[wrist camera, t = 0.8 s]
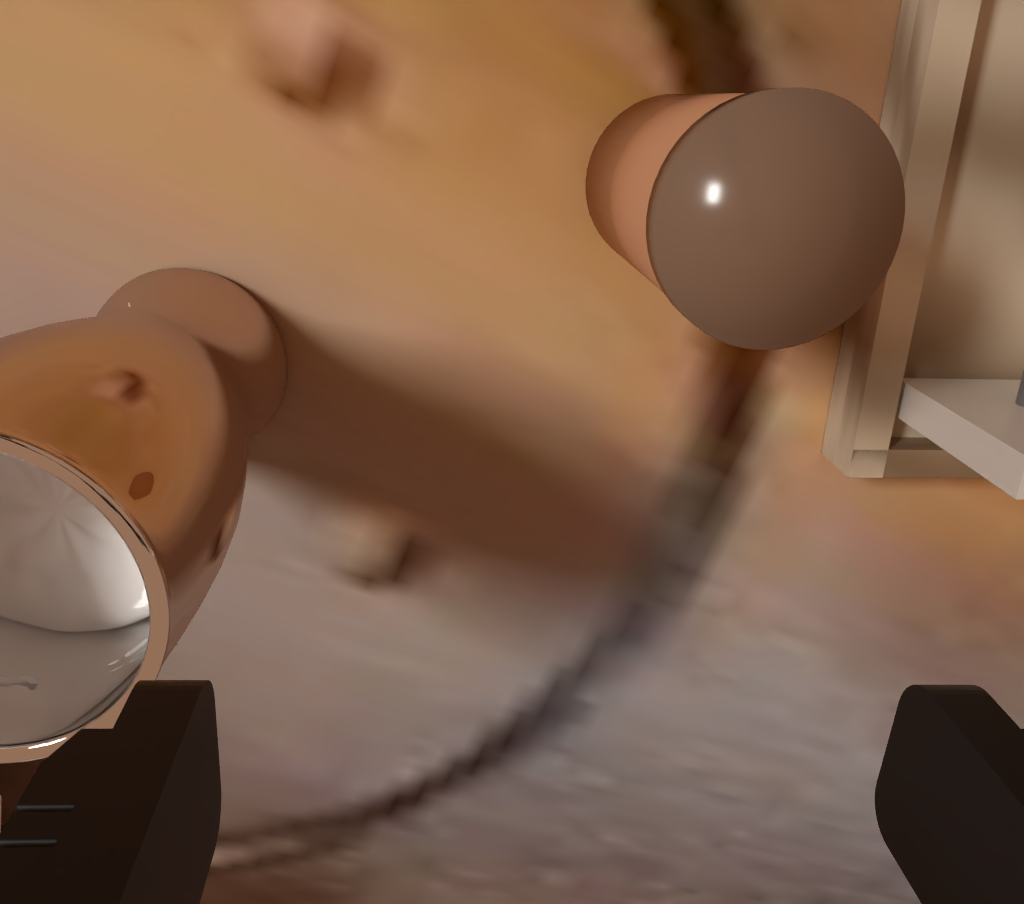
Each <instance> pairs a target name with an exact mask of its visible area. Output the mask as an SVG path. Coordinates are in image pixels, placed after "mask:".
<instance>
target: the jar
mask: <svg viewBox="0 0 1024 904" xmlns="http://www.w3.org/2000/svg"><path fill="white" fill-rule="evenodd" d="M586 199H587V205H588V209H589V213H590V216H591V218H592V221H593V223H594V225H595V227H596V229H597V231H598V232H599V234H600V235H601V237H602V238H603V239H604V241H605V242H606V243H607V244H608V245H609V246H610V247H611V248H612V249H613V250H614V251H616V252H617V253H618V254H619V255H620V256H621V257H623V258H624V259H625V260H626V261H627V262H628V263H630V264H631V265H632V266H633V267H634V268H635V269H637V270H638V271H639V272H640V273H641V274H642V275H644V276H645V277H646V278H647V279H648V280H649V281H651V282H652V283H653V284H654V285H655V286H656V287H658V288H659V289H660V290H661V291H662V292H663V293H664V294H665V295H666V297H667V298H668V299H669V301H670V302H671V303H672V305H673V306H674V307H675V308H676V309H677V310H678V311H679V312H680V313H681V314H682V315H683V316H684V317H685V318H687V319H688V320H689V321H690V322H691V323H692V324H694V325H695V326H696V327H698V328H699V329H700V330H702V331H703V332H704V333H706V334H708V335H710V336H711V337H713V338H715V339H717V340H719V341H722V342H724V343H727V344H730V345H733V346H737V347H742V348H746V349H757V350H772V349H782V348H788V347H793V346H797V345H800V344H803V343H806V342H809V341H812V340H814V339H816V338H818V337H821V336H823V335H825V334H826V333H828V332H830V331H832V330H833V329H835V328H837V327H838V326H840V325H841V324H842V323H844V322H845V321H846V320H848V319H849V318H850V317H851V316H853V315H854V314H855V313H856V312H857V311H858V310H859V309H860V308H861V307H862V306H863V305H864V304H865V303H866V302H867V300H868V299H869V298H870V297H871V296H872V295H873V293H874V292H875V291H876V289H877V288H878V286H879V285H880V283H881V282H882V280H883V279H884V277H885V275H886V273H887V272H888V270H889V268H890V266H891V264H892V262H893V259H894V257H895V254H896V251H897V249H898V246H899V242H900V239H901V235H902V231H903V225H904V217H905V189H904V180H903V176H902V172H901V168H900V164H899V161H898V159H897V156H896V154H895V151H894V149H893V147H892V145H891V143H890V142H889V140H888V138H887V137H886V135H885V133H884V132H883V131H882V130H881V128H880V127H879V126H878V125H877V123H876V122H875V121H874V120H873V119H872V118H871V117H870V116H869V115H867V114H866V113H865V112H864V111H863V110H862V109H860V108H859V107H857V106H856V105H854V104H853V103H851V102H850V101H848V100H846V99H843V98H841V97H839V96H837V95H835V94H832V93H828V92H824V91H821V90H817V89H809V88H768V89H763V90H757V91H752V92H749V93H733V94H665V95H659V96H654V97H651V98H647V99H644V100H642V101H640V102H638V103H636V104H634V105H632V106H630V107H629V108H627V109H626V110H624V111H623V112H622V113H621V114H619V115H618V116H617V117H616V118H615V119H614V120H613V121H612V122H611V123H610V124H609V125H608V126H607V128H606V129H605V130H604V132H603V133H602V135H601V136H600V138H599V139H598V141H597V143H596V145H595V147H594V149H593V152H592V154H591V157H590V160H589V164H588V168H587V175H586Z"/></svg>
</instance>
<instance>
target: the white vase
mask: <svg viewBox="0 0 1024 904" xmlns="http://www.w3.org/2000/svg"><path fill="white" fill-rule="evenodd" d="M0 833H1V795H0Z"/></svg>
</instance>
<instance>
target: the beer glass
mask: <svg viewBox="0 0 1024 904" xmlns="http://www.w3.org/2000/svg"><path fill="white" fill-rule="evenodd" d="M286 380H287V360H286V353H285V349H284V345H283V342H282V339H281V336H280V334H279V331H278V329H277V327H276V325H275V323H274V322H273V320H272V318H271V317H270V315H269V314H268V313H267V311H266V310H265V309H264V308H263V306H262V305H261V304H260V303H259V302H258V301H257V300H256V299H255V298H254V297H253V296H252V295H250V294H249V293H248V292H247V291H245V290H244V289H243V288H241V287H240V286H238V285H237V284H235V283H233V282H231V281H229V280H228V279H225V278H223V277H221V276H218V275H216V274H213V273H210V272H206V271H202V270H196V269H189V268H168V269H161V270H156V271H152V272H149V273H146V274H143V275H141V276H139V277H136V278H135V279H133V280H131V281H129V282H128V283H126V284H125V285H123V286H122V287H121V288H120V289H118V290H117V291H116V292H115V293H114V294H113V295H112V296H111V297H110V298H109V299H108V300H107V301H106V303H105V304H104V305H103V307H102V308H101V309H100V311H99V312H98V314H97V316H96V317H88V318H82V319H76V320H70V321H64V322H58V323H52V324H48V325H44V326H40V327H37V328H33V329H29V330H26V331H22V332H19V333H15V334H11V335H8V336H5V337H2V338H0V764H7V763H19V762H27V761H34V760H39V759H44V758H47V757H49V756H50V755H51V754H52V753H53V752H54V751H56V750H57V749H58V748H59V747H60V746H61V745H63V744H64V743H65V742H66V741H67V740H69V739H70V738H71V737H72V736H73V735H74V734H76V733H77V732H78V731H79V730H80V729H113V727H114V725H115V723H116V721H117V719H118V717H119V715H120V713H121V711H122V709H123V707H124V705H125V703H126V701H127V699H128V697H129V695H130V693H131V691H132V689H133V687H134V685H135V684H136V683H137V682H138V681H140V680H156V678H157V676H158V674H159V672H160V670H161V667H162V665H163V664H164V662H165V660H166V659H167V657H168V656H169V654H170V653H171V651H172V650H173V649H174V647H175V646H176V644H177V643H178V641H179V640H180V638H181V636H182V635H183V633H184V632H185V630H186V628H187V627H188V625H189V624H190V622H191V620H192V619H193V617H194V616H195V614H196V612H197V611H198V609H199V607H200V606H201V604H202V602H203V600H204V599H205V597H206V595H207V593H208V591H209V589H210V587H211V585H212V583H213V581H214V580H215V578H216V576H217V574H218V572H219V570H220V568H221V566H222V563H223V561H224V558H225V556H226V553H227V551H228V548H229V545H230V543H231V540H232V537H233V535H234V532H235V530H236V527H237V524H238V520H239V516H240V511H241V506H242V500H243V495H244V489H245V483H246V475H247V460H248V439H250V438H251V437H252V436H254V435H255V434H256V433H257V432H259V431H260V430H261V429H262V428H263V427H264V426H265V425H266V424H267V422H268V421H269V420H270V419H271V417H272V416H273V415H274V413H275V412H276V410H277V408H278V406H279V404H280V402H281V400H282V397H283V394H284V390H285V386H286Z"/></svg>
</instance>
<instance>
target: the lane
mask: <svg viewBox="0 0 1024 904" xmlns="http://www.w3.org/2000/svg"><path fill="white" fill-rule="evenodd" d="M880 128H881V130H882V131H883V132H884V133H885V135H886V137H887V138H888V140H889V142H890V143H891V145H892V147H893V149H894V151H895V154H896V156H897V159H898V161H899V164H900V168H901V172H902V176H903V180H904V189H905V217H904V225H903V231H902V235H901V239H900V242H899V246H898V249H897V251H896V254H895V257H894V259H893V262H892V264H891V266H890V268H889V270H888V272H887V273H886V275H885V277H884V279H883V280H882V282H881V283H880V285H879V286H878V288H877V289H876V291H875V292H874V293H873V295H872V296H871V297H870V298H869V299H868V300H867V302H866V303H865V304H864V305H863V306H862V307H861V308H860V309H859V310H858V311H857V312H856V313H855V314H854V315H853V316H851V317H850V318H849V319H848V320H846V321H845V324H844V330H843V335H842V341H841V346H840V352H839V358H838V363H837V369H836V374H835V380H834V386H833V391H832V397H831V402H830V408H829V414H828V419H827V425H826V430H825V436H824V442H823V447H822V454H823V455H824V456H825V457H826V458H827V459H828V460H829V461H831V462H832V463H833V464H834V465H835V466H836V467H837V468H838V469H839V470H840V471H841V472H842V473H844V474H845V475H846V476H847V477H848V478H984V477H983V476H981V475H980V474H978V473H977V472H976V471H974V470H973V469H971V468H970V467H968V466H967V465H965V464H964V463H963V462H961V461H960V460H958V459H957V458H955V457H954V456H952V455H951V454H950V453H948V452H947V451H945V450H944V449H942V448H941V447H939V446H938V445H937V444H935V443H934V442H932V441H931V440H929V439H928V438H926V437H925V436H924V435H922V434H921V433H919V432H918V431H916V430H915V429H913V428H912V427H911V426H909V425H908V424H906V423H905V422H903V421H902V420H900V419H899V418H898V417H896V416H895V415H896V411H897V406H898V401H899V396H900V391H901V387H902V382H903V378H936V379H1003V380H1021V378H1022V374H1023V370H1024V0H902V4H901V10H900V16H899V21H898V27H897V32H896V38H895V44H894V49H893V55H892V60H891V66H890V72H889V77H888V83H887V88H886V94H885V100H884V105H883V111H882V116H881V122H880Z"/></svg>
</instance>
